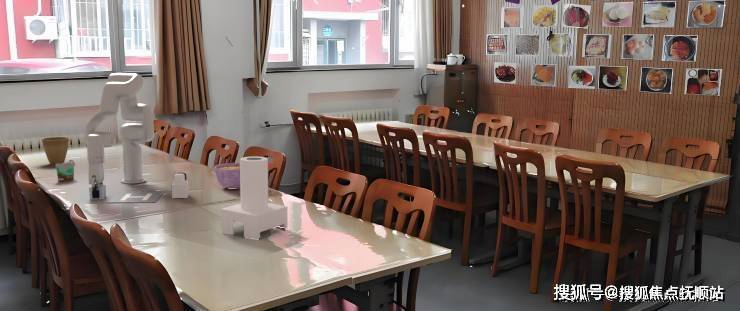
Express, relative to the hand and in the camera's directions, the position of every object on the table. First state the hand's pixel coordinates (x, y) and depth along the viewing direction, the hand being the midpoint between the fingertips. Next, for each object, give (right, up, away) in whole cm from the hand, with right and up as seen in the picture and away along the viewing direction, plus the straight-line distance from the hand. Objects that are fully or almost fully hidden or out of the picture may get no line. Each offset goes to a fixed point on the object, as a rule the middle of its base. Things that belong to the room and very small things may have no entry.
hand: (97, 196), depth 318 cm
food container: (-32, +6, +39) cm, 51 cm away
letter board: (+18, -1, +2) cm, 18 cm away
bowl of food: (+60, +2, +27) cm, 66 cm away
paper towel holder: (+85, -11, -51) cm, 100 cm away
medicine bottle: (+39, -1, +5) cm, 39 cm away
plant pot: (-59, +14, +83) cm, 103 cm away
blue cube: (0, -1, 0) cm, 1 cm away
